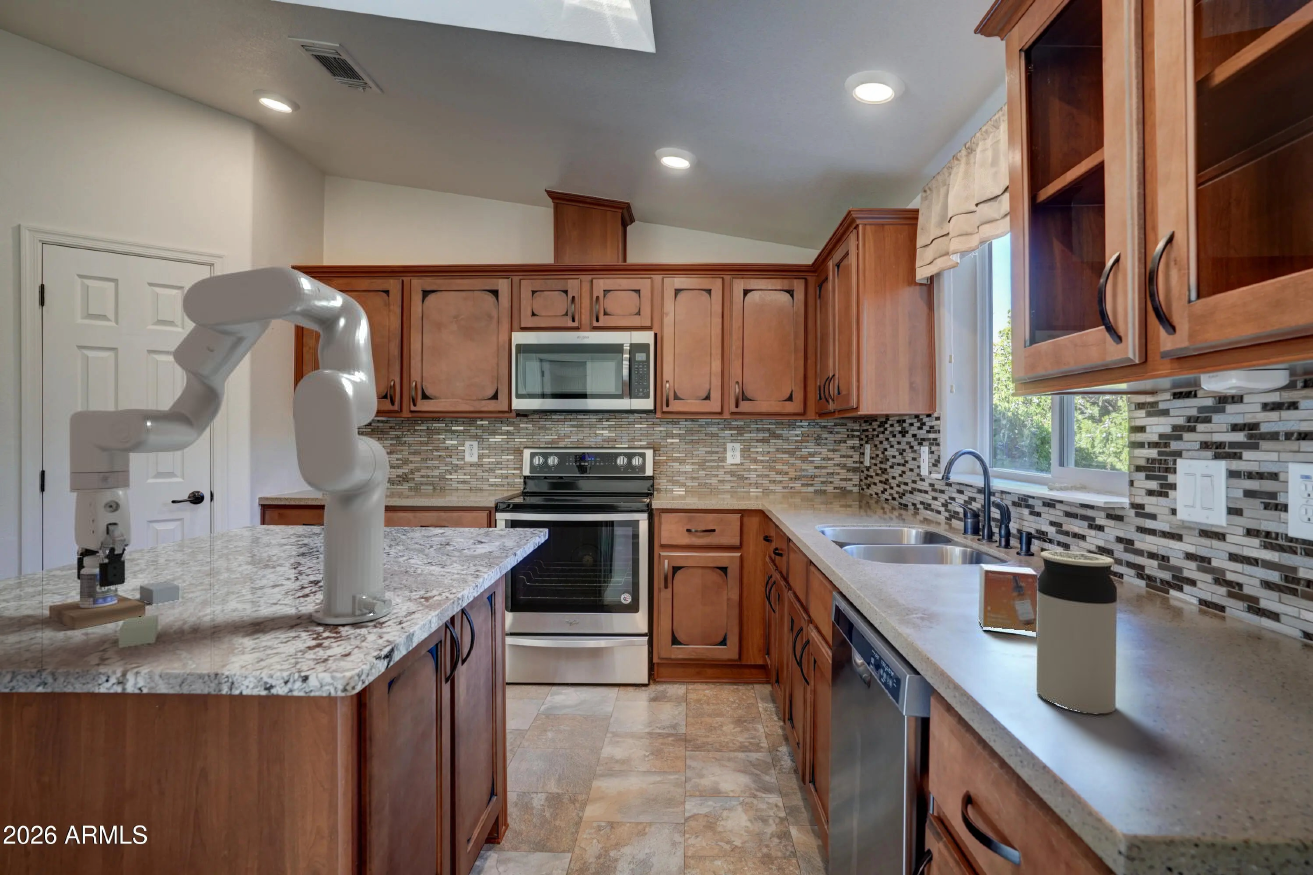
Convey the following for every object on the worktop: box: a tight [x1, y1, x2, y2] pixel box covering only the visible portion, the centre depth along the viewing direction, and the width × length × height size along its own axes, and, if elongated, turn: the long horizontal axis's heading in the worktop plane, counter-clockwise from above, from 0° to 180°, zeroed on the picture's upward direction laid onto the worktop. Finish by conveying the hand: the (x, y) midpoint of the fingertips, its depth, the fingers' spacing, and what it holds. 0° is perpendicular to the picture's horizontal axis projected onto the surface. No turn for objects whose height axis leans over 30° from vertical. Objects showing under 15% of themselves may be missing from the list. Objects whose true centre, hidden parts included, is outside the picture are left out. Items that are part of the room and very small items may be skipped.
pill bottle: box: [79, 554, 119, 608], centre depth 101 cm, size 5×5×8 cm
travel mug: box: [1036, 550, 1118, 714], centre depth 73 cm, size 8×8×18 cm
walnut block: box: [48, 593, 147, 630], centre depth 101 cm, size 12×9×2 cm
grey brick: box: [139, 580, 180, 605], centre depth 112 cm, size 6×4×3 cm, turn 59°
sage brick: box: [118, 614, 159, 649], centre depth 90 cm, size 6×4×3 cm, turn 36°
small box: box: [978, 563, 1039, 632], centre depth 101 cm, size 8×6×10 cm
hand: (100, 581), depth 101 cm, fingers open, 9 cm apart
